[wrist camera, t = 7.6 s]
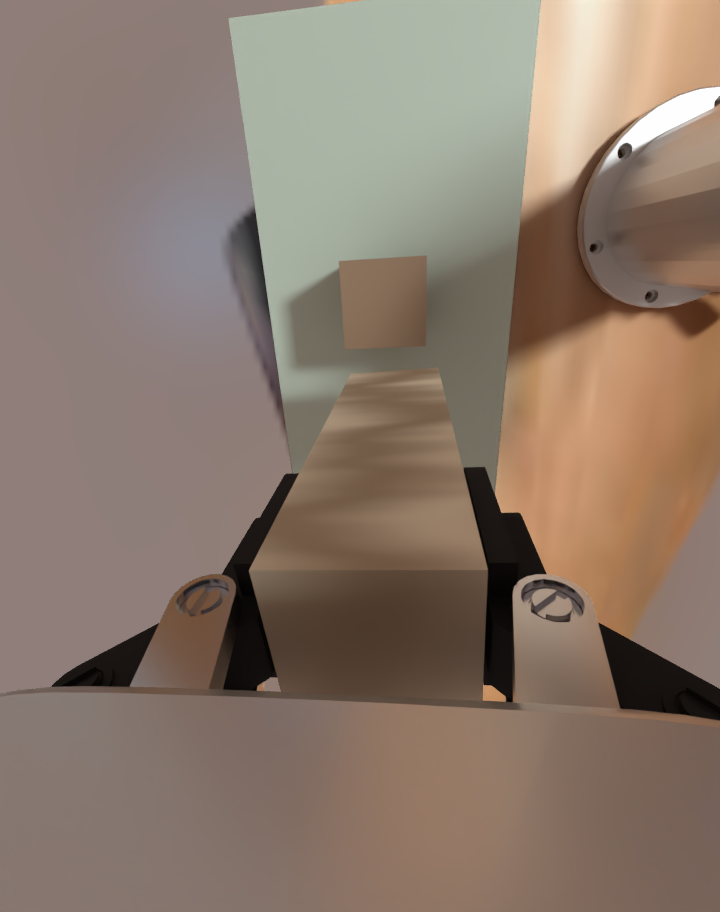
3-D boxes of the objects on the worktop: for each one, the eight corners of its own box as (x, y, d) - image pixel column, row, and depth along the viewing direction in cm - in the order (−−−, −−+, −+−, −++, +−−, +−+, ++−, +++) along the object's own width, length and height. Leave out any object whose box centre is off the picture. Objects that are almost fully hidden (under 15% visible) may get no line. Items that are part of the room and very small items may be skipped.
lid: (532, -3, 19) (584, -109, 14) (490, 490, 30) (509, 540, 25) (240, 34, 21) (181, -47, 15) (300, 490, 31) (279, 537, 26)
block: (438, 367, 19) (488, 569, 7) (439, 448, 20) (481, 727, 8) (350, 373, 19) (248, 570, 7) (359, 451, 21) (287, 717, 9)
